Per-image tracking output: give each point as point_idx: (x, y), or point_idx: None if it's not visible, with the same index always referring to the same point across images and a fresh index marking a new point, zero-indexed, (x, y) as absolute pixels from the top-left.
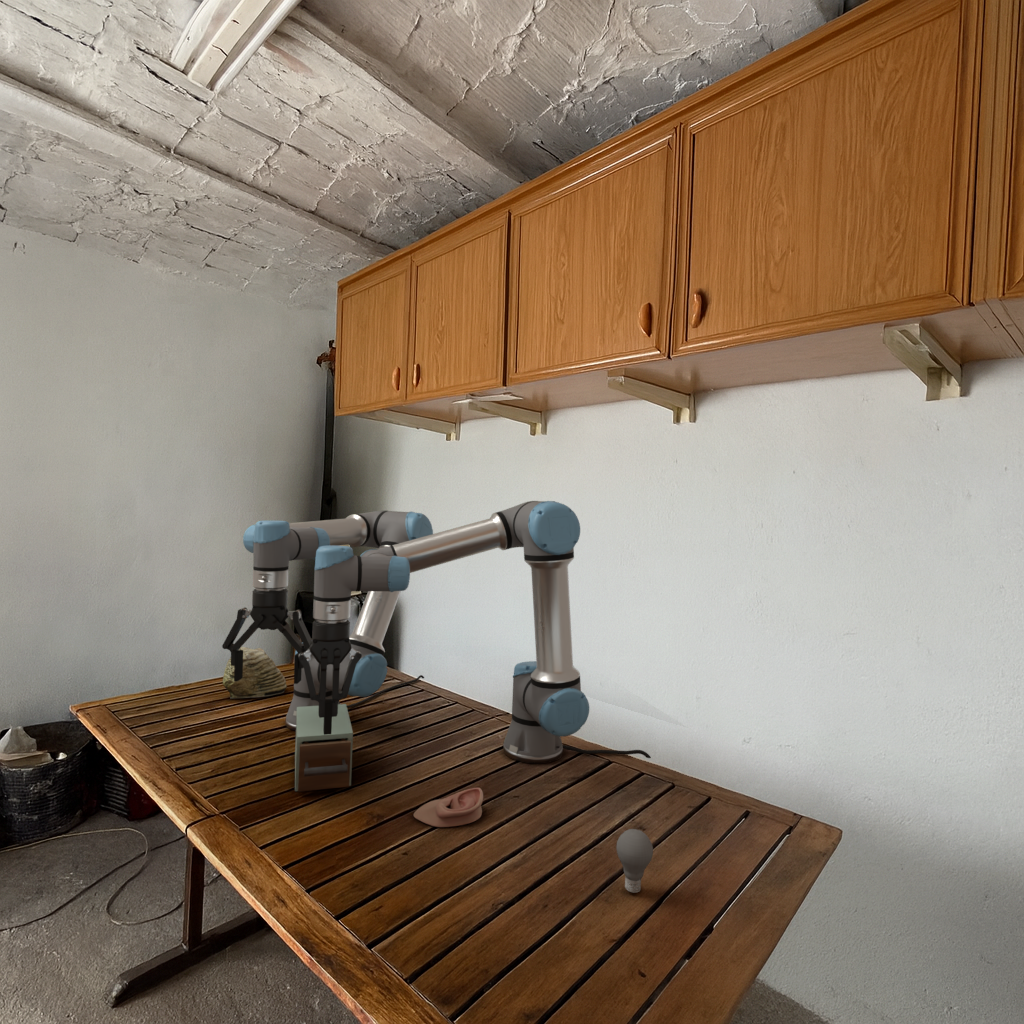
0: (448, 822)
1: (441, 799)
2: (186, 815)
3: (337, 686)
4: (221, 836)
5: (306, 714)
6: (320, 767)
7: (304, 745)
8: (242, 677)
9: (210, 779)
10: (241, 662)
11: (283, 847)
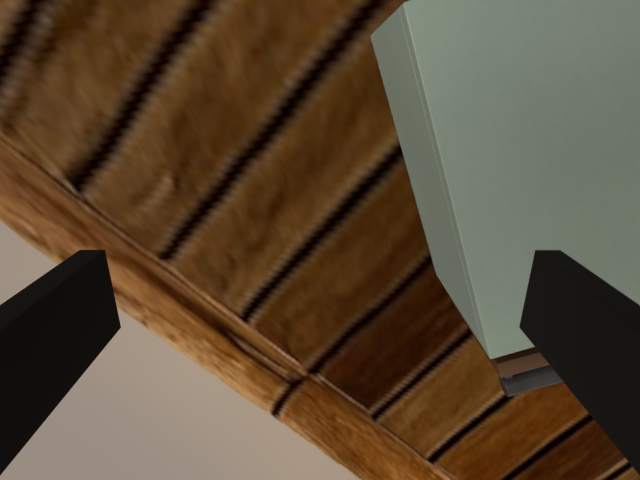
0: None
1: None
2: (248, 385)
3: None
4: (350, 439)
5: (478, 118)
6: (549, 382)
7: (514, 371)
8: (103, 253)
9: (201, 233)
10: (24, 348)
11: (467, 457)
